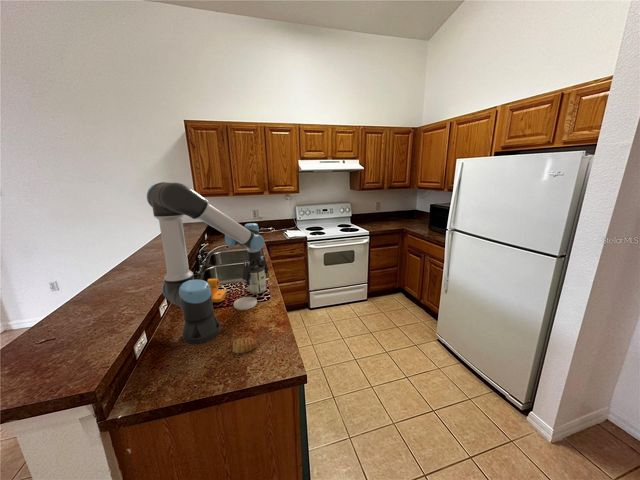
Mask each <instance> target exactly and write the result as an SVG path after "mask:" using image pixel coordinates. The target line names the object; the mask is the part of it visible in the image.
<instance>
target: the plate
mask: <svg viewBox="0 0 640 480" xmlns="http://www.w3.org/2000/svg"><path fill="white" fill-rule="evenodd" d="M257 304H258V300H257V298H256V297H254V296H243V297H240V298H238V299H236V300H235V301H234V302H233V308H234V309H235V310H236V311H237V310H238V311H247V310H250V309H253V308H254V307H256V306H257Z"/></svg>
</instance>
